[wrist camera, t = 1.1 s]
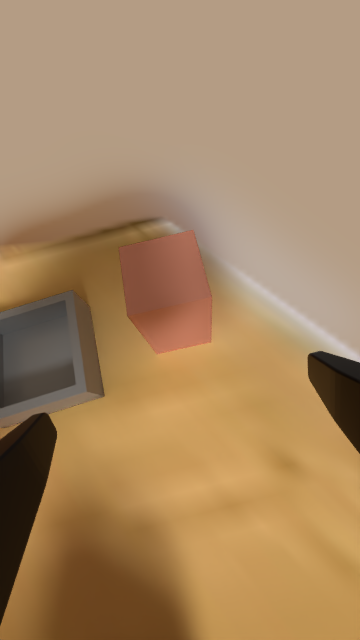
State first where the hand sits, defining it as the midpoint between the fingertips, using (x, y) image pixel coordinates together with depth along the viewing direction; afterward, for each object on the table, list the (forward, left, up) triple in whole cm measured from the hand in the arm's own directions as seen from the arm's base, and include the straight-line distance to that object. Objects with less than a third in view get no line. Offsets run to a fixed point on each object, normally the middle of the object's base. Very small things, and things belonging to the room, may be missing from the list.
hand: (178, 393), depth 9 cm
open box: (+8, +12, -13) cm, 20 cm away
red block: (+8, -1, -13) cm, 16 cm away
